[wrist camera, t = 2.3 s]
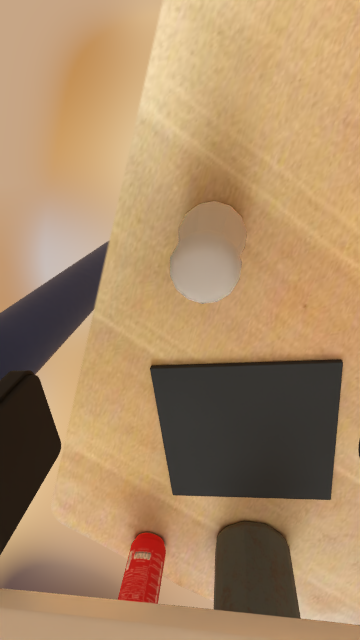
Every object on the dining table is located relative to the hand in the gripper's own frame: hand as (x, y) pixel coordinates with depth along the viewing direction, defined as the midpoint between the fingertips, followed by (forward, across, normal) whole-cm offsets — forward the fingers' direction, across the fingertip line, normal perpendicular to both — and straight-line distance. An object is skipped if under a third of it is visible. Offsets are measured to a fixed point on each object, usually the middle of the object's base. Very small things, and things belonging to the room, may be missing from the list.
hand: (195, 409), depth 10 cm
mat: (+24, -2, +24) cm, 33 cm away
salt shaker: (+24, +1, 0) cm, 24 cm away
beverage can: (+24, +13, +44) cm, 52 cm away
